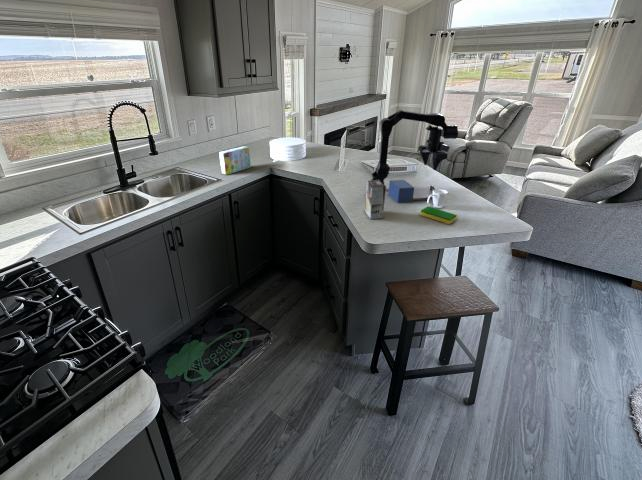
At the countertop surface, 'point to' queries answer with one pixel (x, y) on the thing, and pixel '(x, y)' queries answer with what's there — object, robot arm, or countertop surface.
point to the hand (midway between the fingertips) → (430, 167)
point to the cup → (438, 198)
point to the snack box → (234, 160)
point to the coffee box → (375, 199)
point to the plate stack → (287, 149)
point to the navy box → (408, 191)
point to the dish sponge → (438, 215)
